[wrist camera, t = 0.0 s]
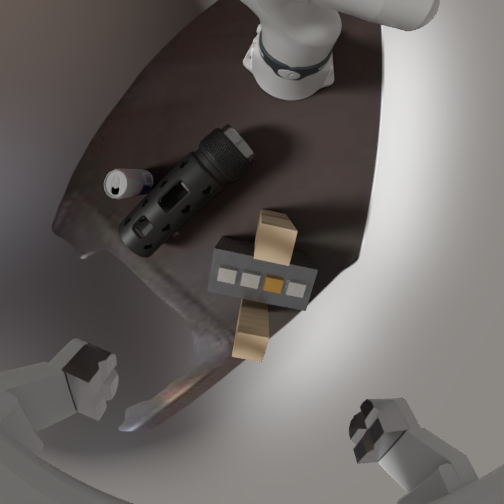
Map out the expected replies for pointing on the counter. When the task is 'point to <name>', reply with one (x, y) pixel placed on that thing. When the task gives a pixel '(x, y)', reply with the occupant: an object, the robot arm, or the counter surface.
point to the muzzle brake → (186, 190)
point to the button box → (261, 275)
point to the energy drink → (128, 183)
